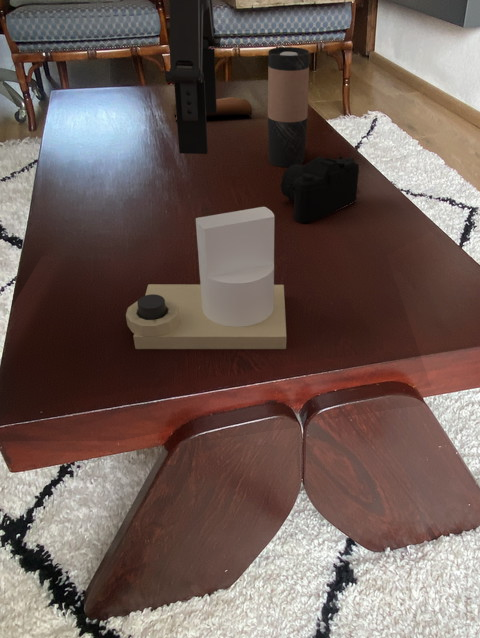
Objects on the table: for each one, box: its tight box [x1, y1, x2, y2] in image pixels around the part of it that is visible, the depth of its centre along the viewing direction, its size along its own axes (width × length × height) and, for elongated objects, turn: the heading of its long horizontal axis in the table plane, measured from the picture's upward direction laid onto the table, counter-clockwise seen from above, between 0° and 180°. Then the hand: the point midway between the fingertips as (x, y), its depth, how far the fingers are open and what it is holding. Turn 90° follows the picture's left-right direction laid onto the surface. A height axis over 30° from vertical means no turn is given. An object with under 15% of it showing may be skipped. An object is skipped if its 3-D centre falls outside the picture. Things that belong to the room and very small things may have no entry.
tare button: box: [136, 294, 166, 320], centre depth 72 cm, size 3×3×2 cm
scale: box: [125, 283, 287, 350], centre depth 76 cm, size 19×12×4 cm, turn 91°
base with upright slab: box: [195, 206, 275, 327], centre depth 73 cm, size 9×9×12 cm
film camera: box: [280, 155, 360, 224], centre depth 103 cm, size 15×10×9 cm, turn 135°
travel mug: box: [267, 46, 310, 168], centre depth 117 cm, size 8×8×20 cm
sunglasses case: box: [176, 96, 253, 117], centre depth 145 cm, size 18×7×7 cm, turn 105°
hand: (199, 130), depth 65 cm, fingers open, 13 cm apart
